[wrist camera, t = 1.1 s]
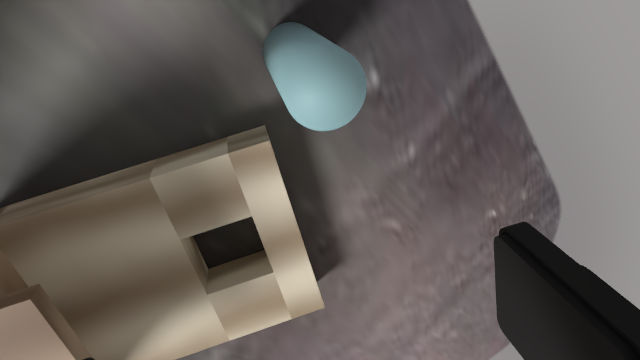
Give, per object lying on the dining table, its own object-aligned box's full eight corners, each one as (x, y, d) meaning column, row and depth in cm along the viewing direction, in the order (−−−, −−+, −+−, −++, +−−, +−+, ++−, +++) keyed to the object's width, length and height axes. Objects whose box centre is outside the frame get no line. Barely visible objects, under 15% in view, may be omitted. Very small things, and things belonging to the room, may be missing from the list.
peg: (255, 31, 26) (272, 61, 18) (311, 14, 27) (357, 35, 18) (272, 88, 28) (296, 141, 19) (325, 71, 28) (373, 116, 19)
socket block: (-8, 210, 28) (-149, 358, 17) (264, 125, 29) (291, 213, 18) (98, 357, 34) (43, 531, 23) (316, 282, 35) (358, 415, 25)
